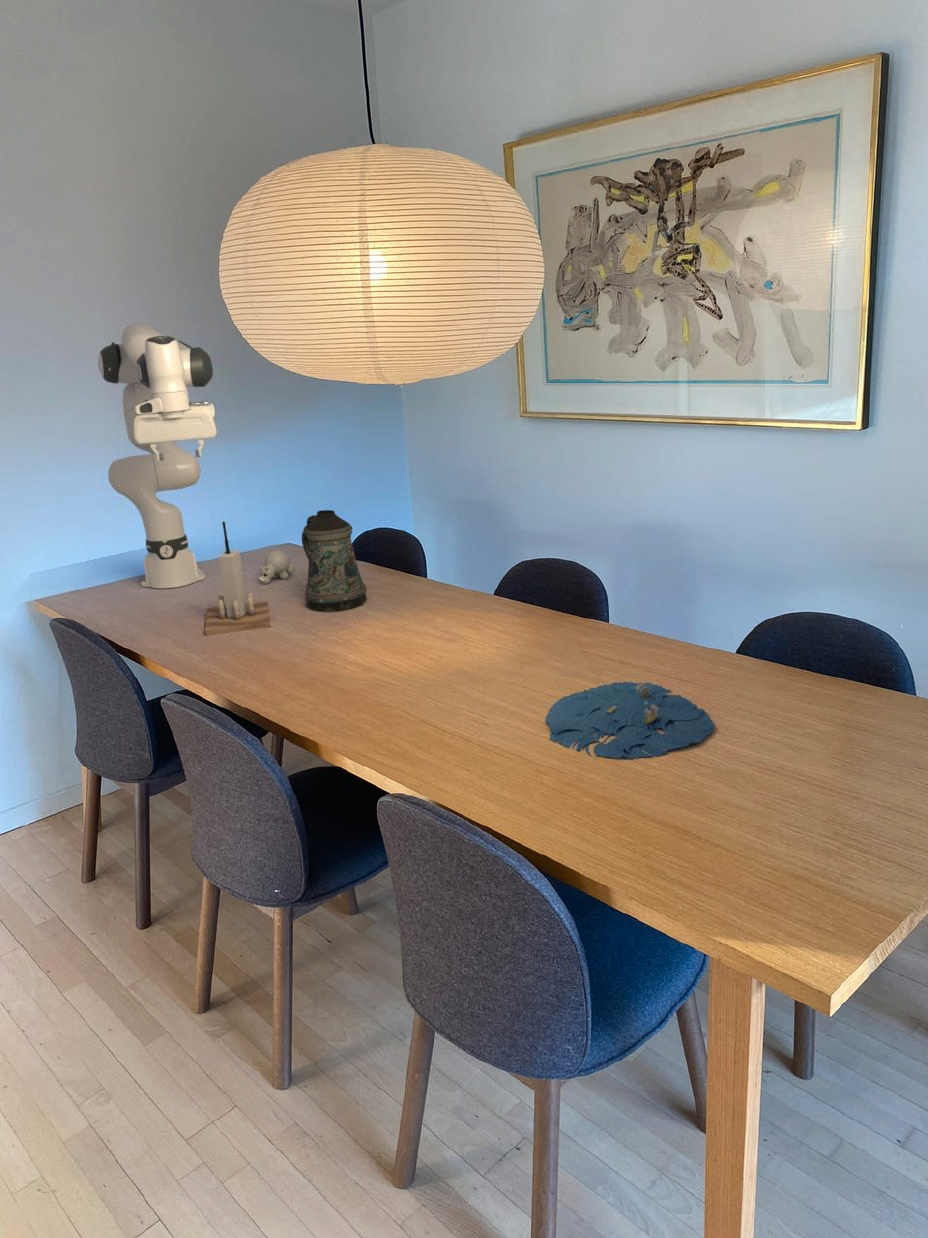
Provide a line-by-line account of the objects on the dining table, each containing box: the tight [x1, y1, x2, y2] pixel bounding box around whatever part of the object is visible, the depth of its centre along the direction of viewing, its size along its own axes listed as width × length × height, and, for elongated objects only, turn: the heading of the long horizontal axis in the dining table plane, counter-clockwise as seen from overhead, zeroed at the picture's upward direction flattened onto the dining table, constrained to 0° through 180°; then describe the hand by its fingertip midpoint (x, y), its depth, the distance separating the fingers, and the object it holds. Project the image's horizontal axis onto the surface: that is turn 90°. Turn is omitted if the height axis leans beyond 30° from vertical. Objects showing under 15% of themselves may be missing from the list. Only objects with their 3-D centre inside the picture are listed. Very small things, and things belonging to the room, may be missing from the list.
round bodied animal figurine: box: [258, 550, 296, 585], centre depth 266 cm, size 7×12×8 cm, turn 145°
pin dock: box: [204, 591, 272, 636], centre depth 232 cm, size 20×16×6 cm
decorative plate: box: [544, 681, 716, 760], centre depth 160 cm, size 30×30×5 cm
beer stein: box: [301, 509, 368, 613], centre depth 238 cm, size 16×19×25 cm
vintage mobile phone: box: [218, 521, 248, 618], centre depth 228 cm, size 4×5×25 cm
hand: (180, 458), depth 229 cm, fingers open, 8 cm apart
